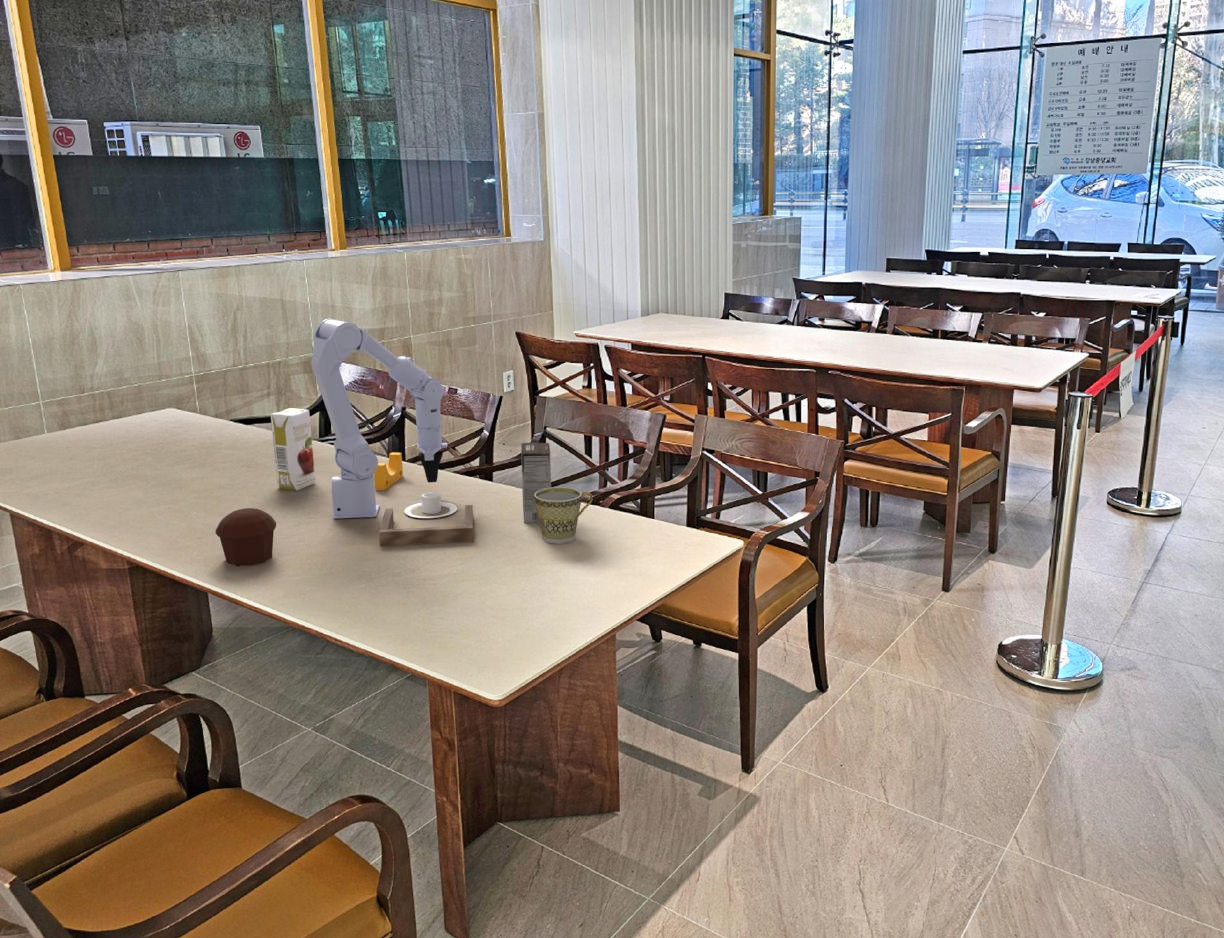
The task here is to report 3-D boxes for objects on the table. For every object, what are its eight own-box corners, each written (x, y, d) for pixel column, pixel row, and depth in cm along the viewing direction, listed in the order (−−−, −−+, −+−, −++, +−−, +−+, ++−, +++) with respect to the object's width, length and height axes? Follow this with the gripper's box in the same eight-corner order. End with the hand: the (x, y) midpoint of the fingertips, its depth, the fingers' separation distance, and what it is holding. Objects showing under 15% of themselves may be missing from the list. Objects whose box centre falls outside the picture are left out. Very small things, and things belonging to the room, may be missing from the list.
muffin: (243, 573, 190) (237, 524, 187) (206, 562, 196) (200, 514, 193) (291, 554, 200) (287, 507, 197) (255, 544, 205) (250, 498, 202)
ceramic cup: (546, 550, 202) (545, 503, 199) (527, 535, 210) (526, 490, 207) (603, 539, 207) (602, 494, 205) (582, 525, 216) (582, 482, 213)
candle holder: (411, 523, 218) (410, 505, 217) (399, 508, 229) (398, 490, 228) (463, 516, 223) (462, 498, 222) (449, 502, 234) (448, 484, 232)
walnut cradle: (380, 545, 204) (379, 532, 203) (386, 521, 219) (385, 508, 218) (473, 541, 207) (472, 527, 206) (473, 517, 221) (472, 504, 221)
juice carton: (273, 488, 243) (265, 413, 238) (296, 479, 251) (289, 406, 245) (297, 492, 240) (290, 416, 235) (320, 482, 248) (313, 409, 243)
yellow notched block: (387, 476, 254) (385, 452, 252) (403, 477, 253) (401, 452, 251) (368, 489, 243) (366, 464, 241) (384, 490, 242) (383, 465, 240)
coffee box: (523, 510, 227) (521, 442, 222) (550, 509, 227) (549, 441, 223) (522, 523, 218) (520, 452, 213) (552, 522, 218) (550, 452, 214)
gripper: (445, 433, 225) (448, 489, 229) (446, 418, 239) (449, 472, 243) (414, 434, 224) (417, 491, 228) (417, 419, 238) (420, 473, 242)
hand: (432, 481), depth 235 cm, fingers closed
